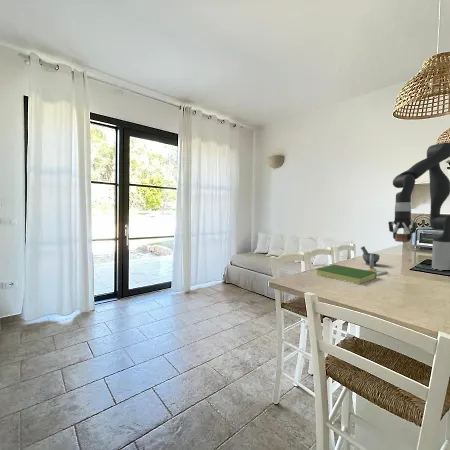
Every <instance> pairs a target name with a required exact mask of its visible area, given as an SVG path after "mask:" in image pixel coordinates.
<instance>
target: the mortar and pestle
mask: <svg viewBox="0 0 450 450" xmlns="http://www.w3.org/2000/svg"><path fill="white" fill-rule="evenodd" d="M360 250H361V251H362V259H363V261H364V262H365V265H366V266H370V254H374V267H375V266H377V263H378V262H379V260H380V257H381V255H380V254H378V253H370V252H368V250H367V249H366V246H364V245H363V246H361V247H360Z"/></svg>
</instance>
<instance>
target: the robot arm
mask: <svg viewBox="0 0 450 450" xmlns="http://www.w3.org/2000/svg"><path fill="white" fill-rule="evenodd" d="M449 158H450V142H442V143H437V144H433V145H430V146H428V148H427V150H426V158H424V159H422V160H420V161H418V162H416V163H414V164H413V165H412V166H411V167H410V168H408V169H407V170H405V171H403V172H401V173H399V174H397V175H396V176H395V177H394V178H393V179H392V186H393V187H395V188H396V189H401V190H400V191H399V192H396V194H395V203H394V205H395V206H394V220H393V221H388V230H389V232H390V233H392V238H393V239H394V240H395V234H398V233H397V232H398V231H399V230H400V229H405V231H406V232H407V233H406V234H407V241H409V242H410V241H411V240H412V234H415V233H416V232H417V227H418V222H417V221H412V220H411V219H412V201H411V200H412V193H413V191H414V187H415V185H416V180H418V178H420V177H422V175H424V174H425V173H427V171H428V174H429V194H430V195H429V196H430V212H429V213H430V215H429V216H430V217H429V224H430V225H429V226H430V228H431V229H432V230H434V231H435V230H437V231H439V230H440V231H442V233H441V234H438V235H434V236H433V237H432V250H431V252H432V253H431V255H432V256H431V269H432V268H433V269H432V270H435V269H438V270H437V271H442V270H450V214H441V208H442V206H443V204H444V203H445V201H446V200H447V198H449V196H450V178H448V176H447V175H446V174H445V173H444V170H442V168H441V163H442V162H443V161H445V160H447V159H449ZM410 226H412V228H411V227H410Z"/></svg>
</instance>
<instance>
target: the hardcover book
mask: <svg viewBox="0 0 450 450" xmlns="http://www.w3.org/2000/svg"><path fill="white" fill-rule="evenodd" d="M317 274H319V275H318V276H321V275H323V276H322V277H325V276H328V277H327V278H329V277H332V278H331V279H334V278H336V279H335V280H338V279H341V280H340V281H343V280H346V281H345V282H347V281H350V282H349V283H351V282H354V283H353V284H356V283H358V284H357V285H360V283H361V284H364V283H366V282H365V281H367V282H370V281H372V280H374V279H375V280H376V279H377V272H372V271H367V270H361V268H354V267H349V266H345V265H340V264H339V265H338V264H331V265H327V266H323V267H318V268H316V275H317ZM363 282H364V283H363Z"/></svg>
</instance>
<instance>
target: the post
mask: <svg viewBox="0 0 450 450" xmlns="http://www.w3.org/2000/svg"><path fill="white" fill-rule="evenodd" d="M374 254H375V253H372V254H370V265H369V267H367V266H366V267H362V268H360V269H361V270H367V271H372V272H377V276H380V275H384V274H388V270H383V269H378V268H376V267H375V266H374Z"/></svg>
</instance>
